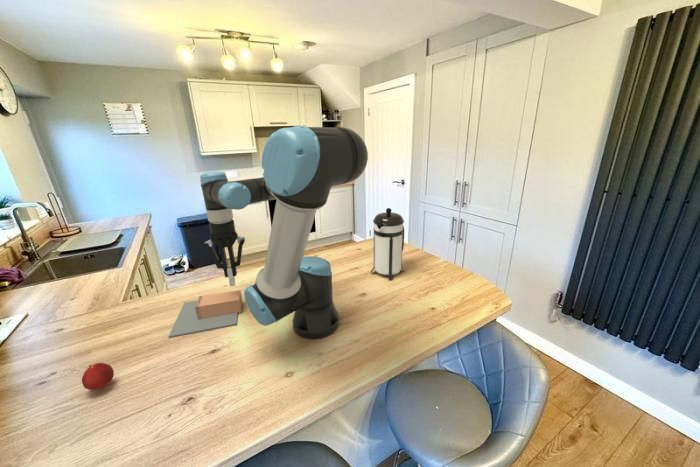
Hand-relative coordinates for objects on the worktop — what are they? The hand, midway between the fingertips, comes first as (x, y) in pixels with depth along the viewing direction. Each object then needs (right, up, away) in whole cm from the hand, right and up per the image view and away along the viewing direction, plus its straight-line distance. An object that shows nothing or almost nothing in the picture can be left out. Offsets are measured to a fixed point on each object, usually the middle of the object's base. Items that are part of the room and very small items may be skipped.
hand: (232, 284), depth 99 cm
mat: (-9, -11, +1) cm, 14 cm away
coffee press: (+59, 0, +28) cm, 65 cm away
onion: (-21, -21, -28) cm, 41 cm away
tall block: (+2, -6, +3) cm, 7 cm away
